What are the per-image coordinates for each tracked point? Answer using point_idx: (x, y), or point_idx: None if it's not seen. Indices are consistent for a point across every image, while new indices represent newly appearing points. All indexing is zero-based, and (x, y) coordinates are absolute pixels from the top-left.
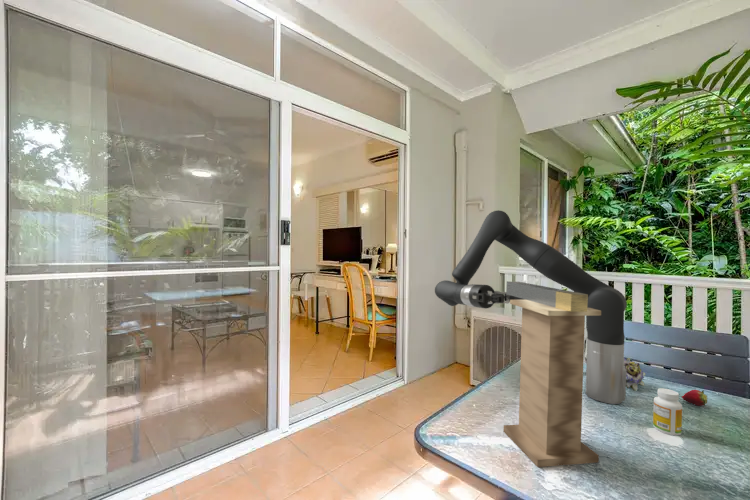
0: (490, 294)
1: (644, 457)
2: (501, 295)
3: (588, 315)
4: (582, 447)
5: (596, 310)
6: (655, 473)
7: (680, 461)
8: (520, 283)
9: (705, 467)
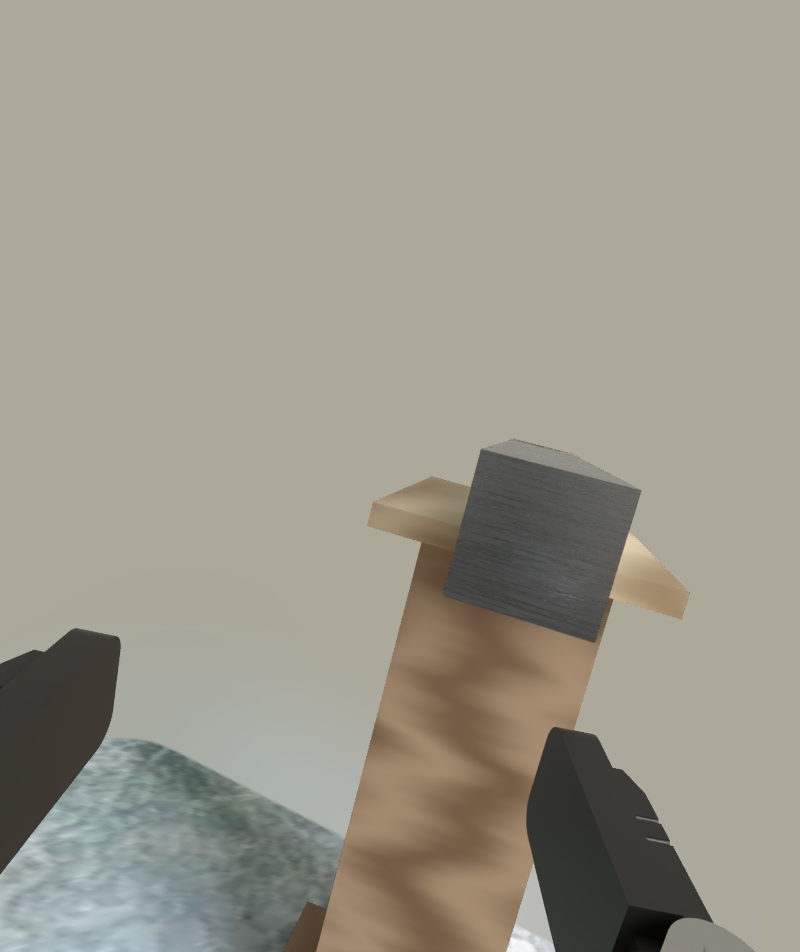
0: (741, 948)
1: (153, 860)
2: (588, 734)
3: None
4: (311, 944)
5: (446, 480)
6: (220, 830)
7: (96, 808)
8: (575, 465)
9: (83, 776)
